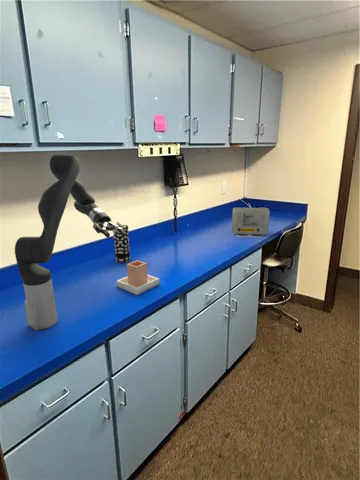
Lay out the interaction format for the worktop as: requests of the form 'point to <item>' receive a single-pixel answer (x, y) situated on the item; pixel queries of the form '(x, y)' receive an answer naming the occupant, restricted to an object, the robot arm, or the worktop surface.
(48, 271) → the robot arm
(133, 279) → the cup
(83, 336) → the worktop surface
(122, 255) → the white-spotted black cylinder
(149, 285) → the tray
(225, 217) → the worktop surface
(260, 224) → the network device
